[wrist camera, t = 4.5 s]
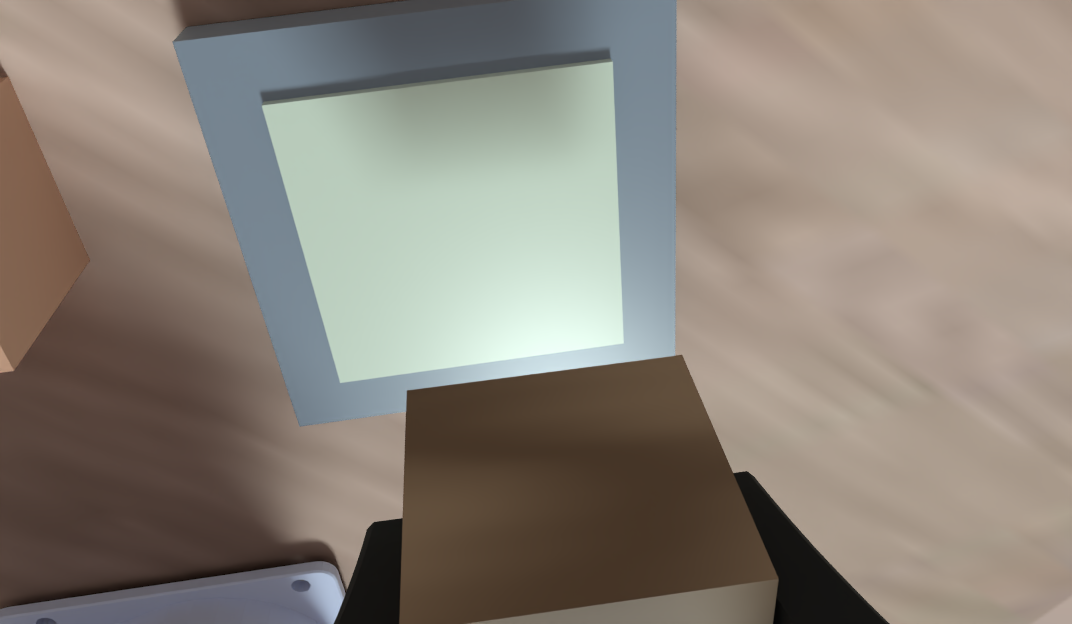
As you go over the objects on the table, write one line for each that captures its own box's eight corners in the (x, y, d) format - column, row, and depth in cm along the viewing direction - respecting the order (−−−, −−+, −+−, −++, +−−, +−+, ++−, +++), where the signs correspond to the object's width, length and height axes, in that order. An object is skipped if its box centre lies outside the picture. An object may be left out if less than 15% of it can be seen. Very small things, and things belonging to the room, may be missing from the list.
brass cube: (445, 573, 14) (451, 822, 11) (407, 390, 12) (399, 633, 9) (677, 540, 14) (753, 775, 11) (682, 355, 12) (779, 577, 9)
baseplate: (304, 399, 20) (298, 432, 19) (186, 27, 15) (170, 45, 14) (665, 349, 21) (677, 378, 20) (663, -31, 16) (679, -17, 15)
